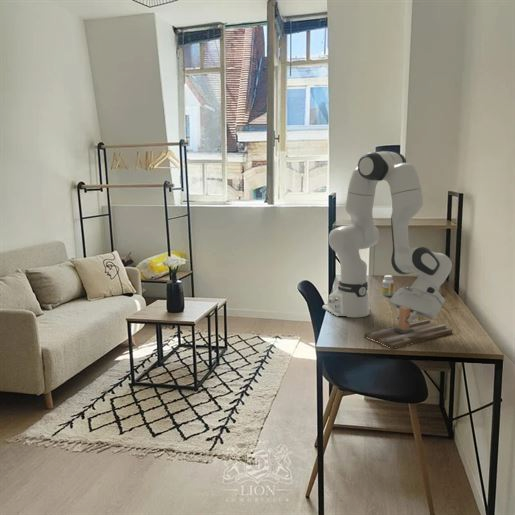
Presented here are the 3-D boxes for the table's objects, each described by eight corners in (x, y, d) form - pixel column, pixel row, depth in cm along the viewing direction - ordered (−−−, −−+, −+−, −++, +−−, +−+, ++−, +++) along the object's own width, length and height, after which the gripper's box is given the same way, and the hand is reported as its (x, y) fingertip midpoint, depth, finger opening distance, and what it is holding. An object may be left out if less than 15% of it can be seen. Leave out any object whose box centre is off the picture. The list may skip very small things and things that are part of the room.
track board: (364, 337, 172) (364, 330, 171) (423, 323, 186) (423, 317, 186) (391, 349, 160) (391, 342, 159) (452, 333, 174) (452, 326, 174)
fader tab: (395, 330, 173) (395, 307, 171) (402, 329, 174) (403, 305, 173) (405, 334, 168) (406, 310, 167) (413, 332, 170) (413, 308, 169)
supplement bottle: (391, 293, 234) (391, 274, 232) (394, 296, 229) (395, 276, 227) (380, 293, 234) (381, 274, 232) (384, 296, 229) (384, 277, 227)
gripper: (398, 281, 181) (378, 308, 178) (441, 291, 163) (420, 322, 160) (405, 290, 184) (387, 318, 181) (449, 302, 166) (428, 332, 163)
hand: (403, 320), depth 170 cm, fingers closed on fader tab, 3 cm apart
